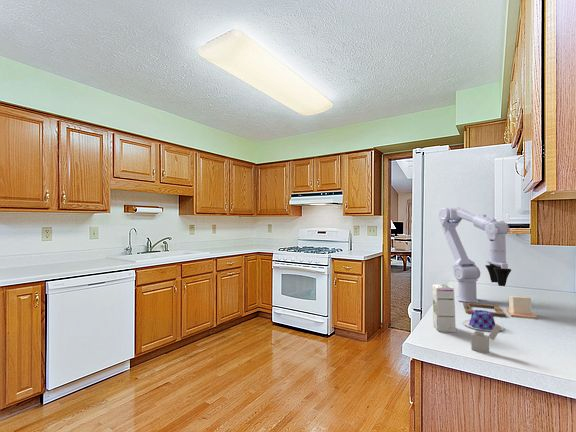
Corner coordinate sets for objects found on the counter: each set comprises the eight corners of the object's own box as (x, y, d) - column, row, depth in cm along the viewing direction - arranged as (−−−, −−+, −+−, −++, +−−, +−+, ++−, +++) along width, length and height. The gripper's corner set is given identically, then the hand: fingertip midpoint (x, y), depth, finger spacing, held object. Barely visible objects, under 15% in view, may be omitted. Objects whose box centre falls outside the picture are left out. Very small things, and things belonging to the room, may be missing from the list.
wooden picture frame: (463, 304, 136) (462, 300, 136) (498, 307, 131) (498, 303, 131) (466, 313, 124) (466, 309, 124) (505, 317, 118) (505, 312, 118)
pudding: (454, 323, 113) (454, 308, 113) (482, 320, 116) (482, 306, 116) (482, 334, 101) (482, 318, 101) (512, 331, 104) (512, 315, 104)
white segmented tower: (456, 332, 103) (455, 287, 103) (436, 331, 104) (436, 287, 104) (451, 326, 108) (450, 284, 109) (432, 325, 110) (431, 283, 110)
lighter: (471, 349, 89) (470, 321, 89) (472, 347, 90) (471, 319, 90) (501, 355, 85) (501, 326, 85) (501, 353, 86) (501, 324, 86)
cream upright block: (509, 311, 124) (509, 295, 124) (526, 311, 123) (525, 296, 123) (513, 313, 121) (513, 297, 121) (530, 313, 120) (530, 298, 120)
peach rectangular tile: (505, 309, 128) (505, 308, 128) (529, 311, 125) (529, 310, 125) (511, 316, 119) (511, 314, 119) (537, 319, 116) (537, 317, 116)
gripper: (480, 249, 137) (481, 280, 137) (492, 252, 123) (493, 287, 123) (498, 249, 135) (499, 281, 135) (513, 252, 121) (514, 287, 121)
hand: (498, 284), depth 129 cm, fingers open, 7 cm apart
